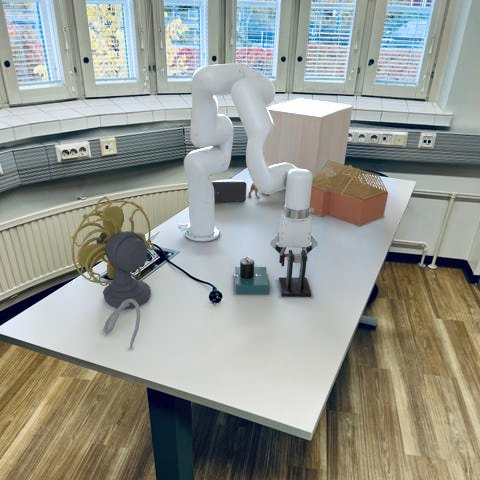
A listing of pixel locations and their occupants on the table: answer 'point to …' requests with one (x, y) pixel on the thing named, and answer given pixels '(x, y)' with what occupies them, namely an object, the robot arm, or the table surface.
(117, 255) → the electric fan
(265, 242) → the table surface
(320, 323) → the table surface
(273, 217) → the table surface
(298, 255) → the toaster lever
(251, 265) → the knob
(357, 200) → the house
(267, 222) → the table surface
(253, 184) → the lion figurine
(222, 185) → the leaning round-cornered charcoal block
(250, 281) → the dial panel
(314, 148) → the cabinet
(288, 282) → the black upright frame
